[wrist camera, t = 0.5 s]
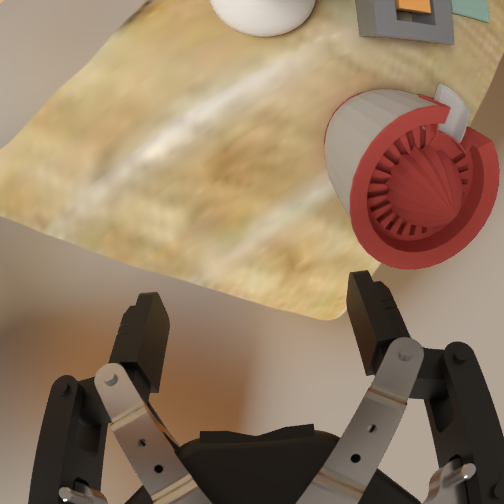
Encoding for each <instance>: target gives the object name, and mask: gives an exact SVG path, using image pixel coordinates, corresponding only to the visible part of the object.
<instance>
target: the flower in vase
mask: <svg viewBox="0 0 504 504" xmlns="http://www.w3.org/2000/svg"><path fill="white" fill-rule="evenodd" d="M315 1H316V0H210V2H211V5H212V7H213V10H214V11H215V13H216V14H217V16H218V17H219V18H220V19H221V20H222V21H223V22H224V23H225V24H226V25H228V26H229V27H231V28H232V29H234V30H236V31H238V32H241V33H244V34H247V35H251V36H258V37H270V36H277V35H281V34H284V33H287V32H290V31H291V30H293V29H295V28H297V27H298V26H300V25H301V24H302V23H303V22H304V21H305V20H306V19H307V18H308V17H309V15H310V13H311V12H312V10H313V7H314V5H315Z"/></svg>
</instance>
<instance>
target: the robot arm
mask: <svg viewBox="0 0 504 504" xmlns="http://www.w3.org/2000/svg"><path fill="white" fill-rule="evenodd" d="M346 302H347V311H348V314H349V317H350V321H351V324H352V327H353V331H354V334H355V337H356V341H357V344H358V348H359V351H360V355H361V358H362V362H363V365H364V369H365V373H366V375H367V376H368V375H375V378H374V380H373V382H372V384H371V386H370V388H368V390H367V392H366V394H365V396H364V397H363V399H362V401H361V403H360V405H359V407H358V409H357V410H356V412H355V414H354V416H353V418H352V419H351V421H350V423H349V425H348V426H347V428H346V430H345V432H344V433H343V435H342V437H341V438H339V437H338V436H336V435H333V434H330V433H328V432H324V431H319V430H314V424H308V425H299V426H290V427H284V428H281V429H278V430H275V431H272V432H269V433H266V434H262V435H259V436H252V435H246V434H240V433H235V432H230V431H200V438H198V439H194V440H192V441H189V442H187V443H185V444H184V445H182V446H180V444H179V443H178V442H177V441H176V439H175V438H174V437H173V436H172V434H171V433H170V432H169V430H168V429H167V427H166V426H165V424H164V423H163V421H162V420H161V418H160V417H159V415H158V414H157V412H156V411H155V409H154V408H153V406H152V405H151V403H150V401H149V394H150V393H158V392H159V386H160V380H161V374H162V368H163V362H164V357H165V351H166V345H167V340H168V335H169V329H170V323H169V317H168V314H167V312H166V310H165V307H164V305H163V303H162V301H161V298H160V296H159V294H158V293H157V292H151V293H140V294H139V296H138V299H137V302H136V306H130V307H129V308H128V310H127V311H126V312H125V313H124V315H123V318H122V321H121V324H120V327H119V330H118V335H117V336H116V340H115V343H114V346H113V350H112V353H111V356H110V360H109V363H108V364H106V365H104V366H103V367H101V368H100V369H99V370H98V372H97V373H96V375H95V377H92V378H89V379H85V380H82V381H77V380H76V379H75V378H74V377H72V376H70V375H64V376H61V377H59V378H58V379H57V380H56V381H55V382H54V384H53V385H52V388H51V391H50V395H49V398H48V402H47V406H46V410H45V414H44V418H43V422H42V426H41V431H40V436H39V441H38V445H37V450H36V456H35V461H34V467H33V472H32V479H31V486H30V494H29V503H28V504H108V502H107V499H106V497H105V496H104V495H103V494H102V493H101V492H100V490H101V489H100V488H101V477H102V468H103V458H104V449H105V442H106V434H107V427H108V423H111V422H112V424H111V428H112V431H113V433H114V435H115V437H116V438H117V440H118V442H119V444H120V446H121V448H122V449H123V451H124V453H125V455H126V457H127V458H128V460H129V462H130V464H131V466H132V467H133V469H134V471H135V472H136V474H137V476H138V477H139V479H140V481H141V482H142V484H143V485H142V486H141V488H139V490H138V491H137V492H136V493H135V494H134V495H133V496H132V497H131V498H130V499H129V500H128V501H127V502H126V503H125V504H421V502H420V501H419V500H418V499H416V498H415V497H414V496H413V495H411V494H410V493H409V492H407V491H406V490H405V489H403V488H402V487H401V486H400V485H398V484H397V483H396V482H394V481H393V480H392V479H391V478H389V477H388V476H387V475H386V474H384V473H383V472H382V471H380V470H379V469H378V468H377V467H378V465H379V464H380V462H381V460H382V458H383V456H384V454H385V452H386V450H387V448H388V446H389V444H390V442H391V440H392V438H393V436H394V434H395V431H396V429H397V427H398V425H399V423H400V420H401V418H402V416H403V414H404V411H405V409H406V406H407V400H408V398H414V399H424V403H425V406H426V410H427V414H428V418H429V423H430V427H431V431H432V436H433V440H434V445H435V449H436V454H437V459H438V464H439V469H438V470H437V471H436V472H435V473H434V474H433V476H432V477H431V479H430V482H429V493H428V496H427V498H426V500H425V501H424V503H422V504H504V436H503V433H502V429H501V426H500V423H499V420H498V416H497V413H496V410H495V407H494V404H493V401H492V398H491V395H490V392H489V390H488V387H487V384H486V381H485V379H484V376H483V374H482V371H481V369H480V366H479V363H478V361H477V358H476V356H475V354H474V351H473V350H472V348H471V347H470V346H468V345H467V344H465V343H463V342H452V343H450V344H449V345H447V347H446V348H445V350H440V349H428V348H424V347H422V346H421V345H420V344H419V343H418V342H417V341H416V340H414V339H412V338H411V337H410V335H409V333H408V330H407V328H406V326H405V323H404V321H403V319H402V316H401V314H400V312H399V309H398V308H397V305H396V303H395V301H394V299H393V296H392V294H391V292H390V290H389V288H387V286H385V285H384V284H383V283H382V282H381V281H378V282H373V280H372V278H371V275H370V273H369V271H368V270H365V271H358V272H350V274H349V281H348V290H347V299H346Z"/></svg>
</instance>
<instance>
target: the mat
mask: <svg viewBox="0 0 504 504" xmlns="http://www.w3.org/2000/svg"><path fill="white" fill-rule="evenodd" d="M450 3H451V12H452V13H453V14H457V15H461V16H465V17H469V18H472V19H476V20H479V21H482V22H486V23H490V18H489V9H488V1H487V0H450Z"/></svg>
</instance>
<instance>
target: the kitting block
mask: <svg viewBox="0 0 504 504" xmlns="http://www.w3.org/2000/svg"><path fill="white" fill-rule="evenodd" d="M429 1H430V9H431V13H425V14H418V13H412V20H413V22H409V21H401V20H397V16H396V7H395V0H355V2H356V9H357V17H358V26H359V35H360V36H365V37H383V38H395V39H405V40H414V41H422V42H429V43H439V44H448V45H454V33H453V21H452V12H451V3H450V0H429Z"/></svg>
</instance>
